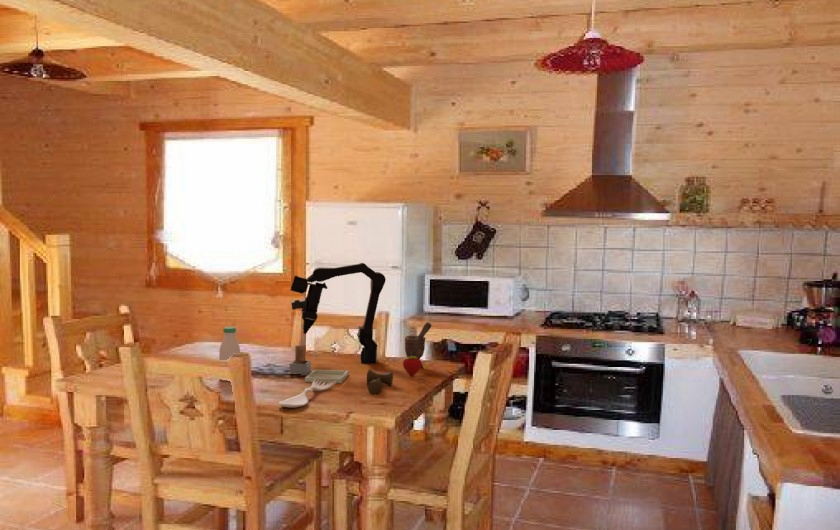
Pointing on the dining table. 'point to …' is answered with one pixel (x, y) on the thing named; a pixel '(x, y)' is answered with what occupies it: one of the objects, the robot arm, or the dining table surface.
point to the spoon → (302, 398)
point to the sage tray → (327, 376)
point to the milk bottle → (228, 344)
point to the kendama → (378, 381)
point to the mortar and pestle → (416, 343)
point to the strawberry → (412, 365)
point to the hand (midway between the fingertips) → (304, 331)
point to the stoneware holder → (300, 368)
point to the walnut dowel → (300, 354)
